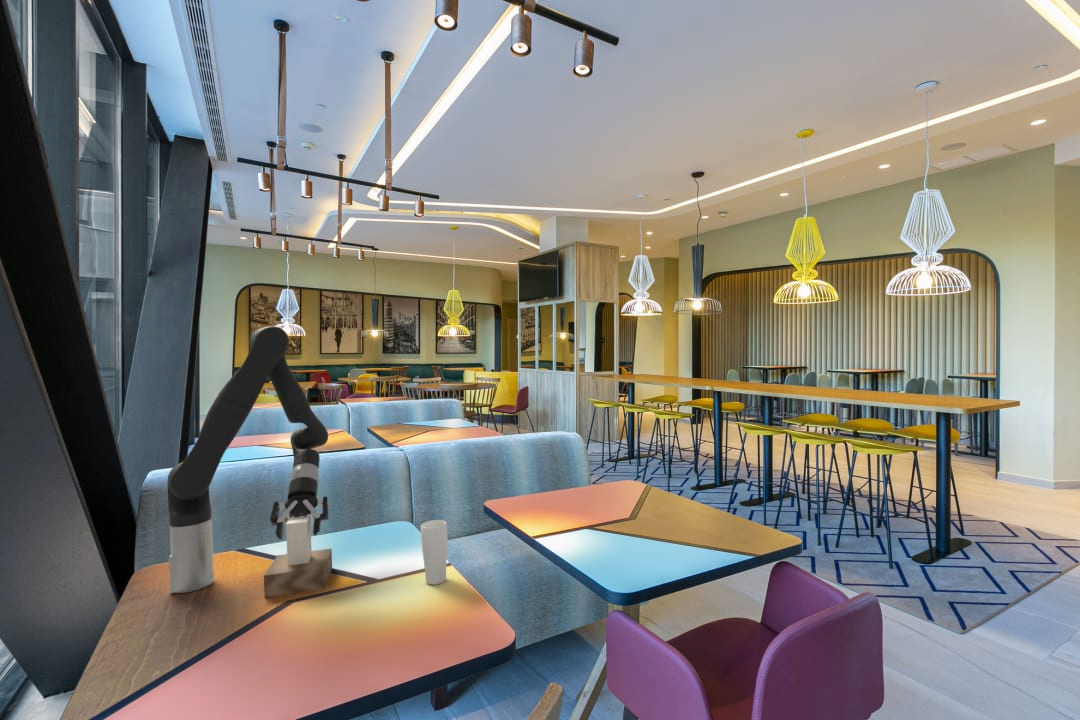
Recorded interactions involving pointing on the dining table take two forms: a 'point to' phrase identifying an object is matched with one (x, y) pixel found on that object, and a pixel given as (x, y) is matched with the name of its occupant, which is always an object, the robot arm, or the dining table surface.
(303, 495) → the robot arm
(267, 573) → the walnut box
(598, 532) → the dining table surface
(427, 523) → the drinking glass
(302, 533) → the offwhite block
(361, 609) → the dining table surface
